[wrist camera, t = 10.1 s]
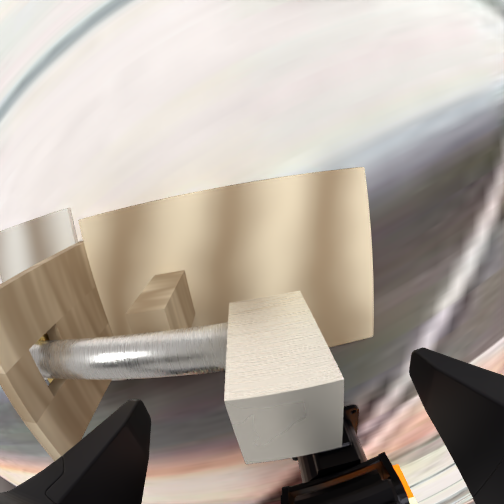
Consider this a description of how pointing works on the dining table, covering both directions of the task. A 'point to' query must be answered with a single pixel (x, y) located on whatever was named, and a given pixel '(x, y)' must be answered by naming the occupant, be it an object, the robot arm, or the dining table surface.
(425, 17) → the dining table surface
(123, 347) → the shaft
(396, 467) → the orange juice
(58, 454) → the wooden latch stand
